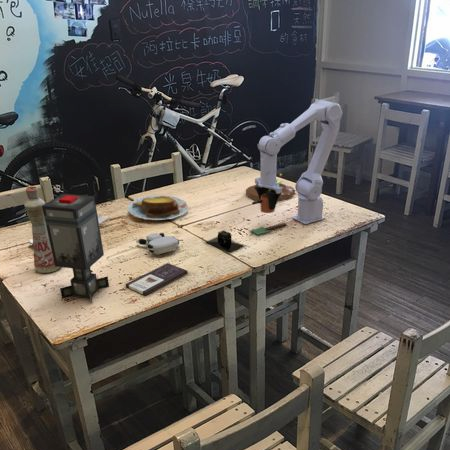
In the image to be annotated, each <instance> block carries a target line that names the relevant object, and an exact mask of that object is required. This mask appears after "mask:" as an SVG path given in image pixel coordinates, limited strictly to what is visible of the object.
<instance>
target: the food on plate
mask: <svg viewBox="0 0 450 450" xmlns="http://www.w3.org/2000/svg"><path fill="white" fill-rule="evenodd" d="M188 211H189V205H188V203H187V201H186V200H184V199H182V198H180V197H178V196H174V195H167V194H158V195H157V194H156V195H148V196H143V197H140V198H136V199H134V200H132V201H131V202H130V203H129V204H128V206H127V213H128V214H129V215H131V217H133V218H134V219H137V218H138V219H142V220H146V221H147V220H148V221H151V220H152V221H162V220H163V221H165V220H172V219H175V218H178V217H180V216H184V215H186V213H187V212H188Z"/></svg>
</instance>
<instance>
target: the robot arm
mask: <svg viewBox="0 0 450 450" xmlns="http://www.w3.org/2000/svg"><path fill="white" fill-rule="evenodd" d="M342 116H343V109H342V107H341V105H340V104H339V103H338V102H332V101H328V100H325V99H322V98H319V99H317V100H316V101H315V102H313V103H311V104H310V106H309V108H308V109H306V110H305V111H304V112H303V113H302V114H300V115H299V116H298V117H297V118H295V119H294V120H293V121H292V122H291V123H288V122H285V123H281V124H280V125H279V127H278V128H277V129H275V130H274V131H271V132H269V135H264V136H262V137H260V139H259V141H258V143H257V149H258V150H259V152H260V153H259V154H260V167H259V168H260V170H259V171H260V175H259V177H255V178H254V185H256V184H258V186H256V187H255V189H256V191H257V193H258V196H259V200H261V195H262V194H264V193H266V194H267V196H268V201H269V209H270V210H273V209H276V206H277V204H278V201H277V200H278V198H279V196H280V195H281V193H282V187H280V186H279V185H278V184H277V183H278V182H277V183H276V180H277V174H276V173H277V163H278V161H277V160H278V154H279V152H280V150H281V148H282V147H283V146H285V145H286V144H287V143H288V142H290V141H291V140H292V139H294V138H295V137H296V133H297V132H299V130H301V129H303V128H304V127H305V126H307V125H310V124H311V123H312V122H314V121H318V122H319V123H320V125H321V128H322V132H321V134H320V136H319V139H318V142H317V144H316V147H315V149H314V152H313V155H312V158H311V160H310V162H309V165H308V167H307V170H306V171H304V172H302V173H301V175H300V177H299V179H297V180H296V183H295V187H294V189H295V192H297V197H298V200H297V215H295V216H292V219H293V220H296V222H299V223H301V224H303V225H307V224H310V223H315V222H319V221H322V220H324V217H323V211H324V201H323V198H322V197H321V195H322V191H323V184H324V181H323V178H322V174H323V172H324V169H325V166H326V164H327V162H328V159H329V156H330V154H331V151H332V148H333V147H334V145H335V141H336V140H337V136H338V134H339V131H340V126H341V119H342ZM269 189H270V190H271V191H268V190H269ZM259 205H261V203H259Z"/></svg>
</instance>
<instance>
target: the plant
mask: <svg viewBox="0 0 450 450" xmlns="http://www.w3.org/2000/svg"><path fill="white" fill-rule="evenodd" d="M276 175H278V176H279V177H282V176H283V174H282V172H279V171H276ZM276 183H277V184H278V185H279V186H280V187H282V193H281V195H280V196H279V198H278V200H277V202H281V201H284V200H288V199H291V198H293V196H294V195H295V194H296V189H295V187H293V186H290V185H288V184H285V183H283V181H279V182H278V179H276ZM256 186H258V184H253V185H250V186H248V187H247V188H245V195H246V196H247V197H248V198H249V199H251V200H254V201H259V196H258V193H257V191H256V189H255V187H256ZM268 191H271V190H270V189H269V190H268Z"/></svg>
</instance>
